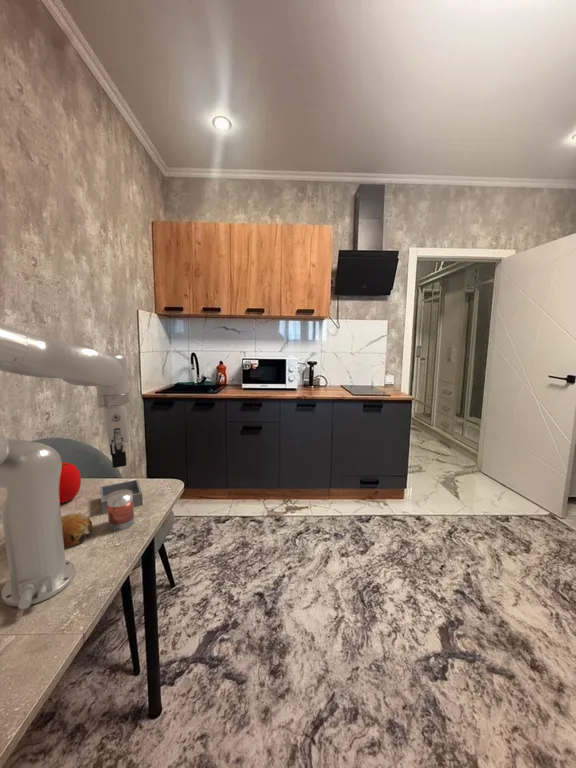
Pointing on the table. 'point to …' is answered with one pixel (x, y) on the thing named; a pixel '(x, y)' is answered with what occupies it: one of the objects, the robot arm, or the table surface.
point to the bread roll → (75, 529)
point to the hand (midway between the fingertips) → (118, 460)
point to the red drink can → (120, 510)
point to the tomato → (69, 482)
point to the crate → (127, 485)
